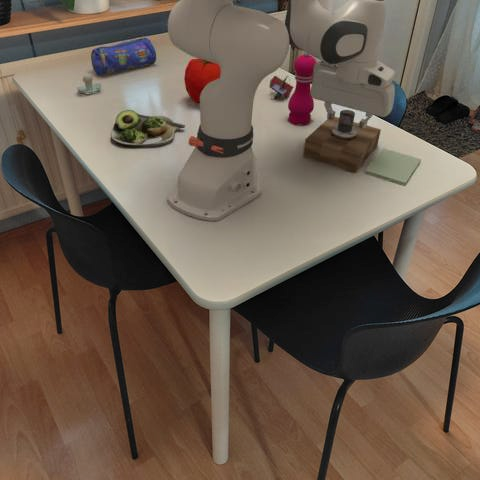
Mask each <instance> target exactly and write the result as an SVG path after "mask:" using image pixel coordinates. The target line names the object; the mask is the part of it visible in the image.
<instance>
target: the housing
mask: <svg viewBox="0 0 480 480" xmlns="http://www.w3.org/2000/svg"><path fill="white" fill-rule="evenodd" d="M338 123H339V117H338V116H335V117H334V119H333V120H331V119H327V118H326V120H325V121H323V123H322V124H320V125H319V126H317V128H315V130H313V132H312V133H311V134H309V135H308V136H307V137H306V138H305V139H304V145H303V156H302V157H303V158H305V159H309V160H311V161H314V162H318V163H321V164H324V165H328V166H330V167H334V168H336V169H339V170H343V171H346V172H350V173H353V174H356V172H357V171H358V170H359V169H360V168H361V167H362V165H363V164H364V163H365V162H366V161H367V160H368V159H369V157H370V156H371V154H373V152H374V151H375V150H376V149H377V147H378V143H379V140H380V136H381V130H382V129H381V128H377V127H374V126H370V125H367V126H366V128H365V129H363V128H359V122H356V121H354V122H353V126H354V127H356V128H357V130H358V132H357V136H356V137H355V138H354V139H351V140H350V141H348V140H344V139H339V138H336V137H334V136H333V135H332V133H331V131H332V127H333V126H334V125H336V124H338Z"/></svg>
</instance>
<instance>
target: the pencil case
mask: <svg viewBox="0 0 480 480" xmlns="http://www.w3.org/2000/svg"><path fill="white" fill-rule="evenodd" d="M90 56H91V57H90V59H91V60H90V61H91V66H92V69H93V71H94V73H95V75H98V76H100V75H101V76H105V75H109V74H113V73H117V72H118V73H119V72H124V71H127V70H132V69H136V68H138V67H142V66H146V65H153V64H155V63H156V61H157V52H156V49H155V47H154V44H153V43H152V41H151V40H150V39H148V37H146V36H142V37H136V38H135V39H132V40H129V41H123V42H120V43H117V44H112V45H110V46H102V45H101V46H99V47H95V48H93V49H92V50H91V53H90Z"/></svg>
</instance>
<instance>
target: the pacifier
mask: <svg viewBox="0 0 480 480" xmlns="http://www.w3.org/2000/svg"><path fill="white" fill-rule="evenodd" d="M93 80H94V79H93V76H92V74H91V73H85V74H84V75H83V77H82V82H83V83H84V85H85V86H83V85H82V86H77V87H76V89H77V93H79V94H84V93H93V92H96V93H97V92H98V91H99V90H101V88H102V83H99V82H97V83H93Z"/></svg>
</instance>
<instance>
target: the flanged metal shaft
mask: <svg viewBox="0 0 480 480" xmlns="http://www.w3.org/2000/svg"><path fill="white" fill-rule="evenodd" d="M355 116H356V112H354V110H352V109H351V110H350V109H342V110H341V111H340V113H339V117H338V118H339V123H338V124H336V125H334V126H333V127H332V131H331V133H332V135H333V136H334V137H336V138H339V139H344V140H348V141H350V140H351V139H354V138H355V137H356V136H357V132H358V130H357V128H356V127H354V126H353V122H355Z"/></svg>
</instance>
